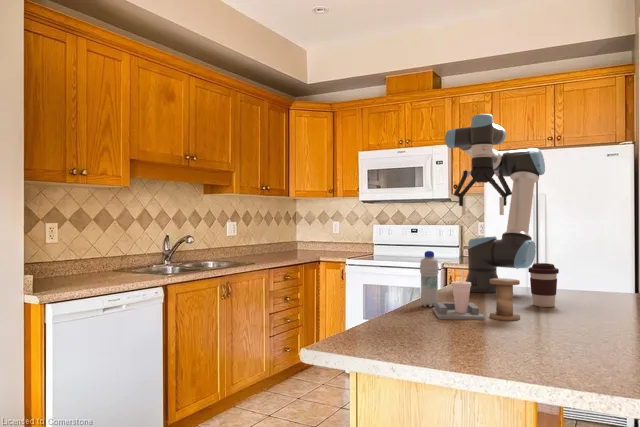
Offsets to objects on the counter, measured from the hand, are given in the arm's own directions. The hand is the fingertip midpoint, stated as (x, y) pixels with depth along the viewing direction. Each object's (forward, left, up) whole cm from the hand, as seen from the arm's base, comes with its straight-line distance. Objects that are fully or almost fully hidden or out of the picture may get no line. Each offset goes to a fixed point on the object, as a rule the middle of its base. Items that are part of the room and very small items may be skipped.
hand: (482, 215), depth 179 cm
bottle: (+4, -20, -33) cm, 39 cm away
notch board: (+19, -13, -33) cm, 40 cm away
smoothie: (+19, -12, -32) cm, 39 cm away
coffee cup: (+1, +21, -33) cm, 39 cm away
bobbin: (+23, +1, -33) cm, 40 cm away
